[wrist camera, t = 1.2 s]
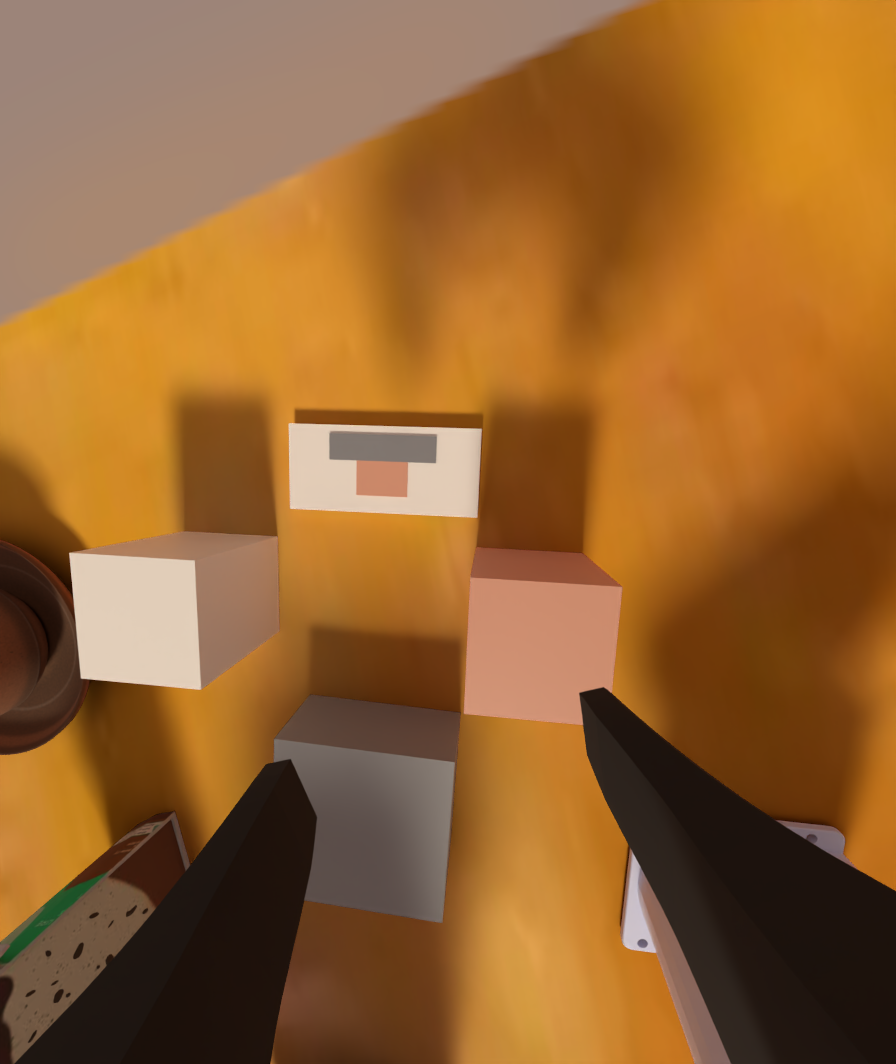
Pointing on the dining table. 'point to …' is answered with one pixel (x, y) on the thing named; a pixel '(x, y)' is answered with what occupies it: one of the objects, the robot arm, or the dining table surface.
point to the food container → (84, 930)
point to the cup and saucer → (35, 653)
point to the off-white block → (174, 606)
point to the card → (385, 469)
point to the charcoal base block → (376, 801)
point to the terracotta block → (538, 634)
